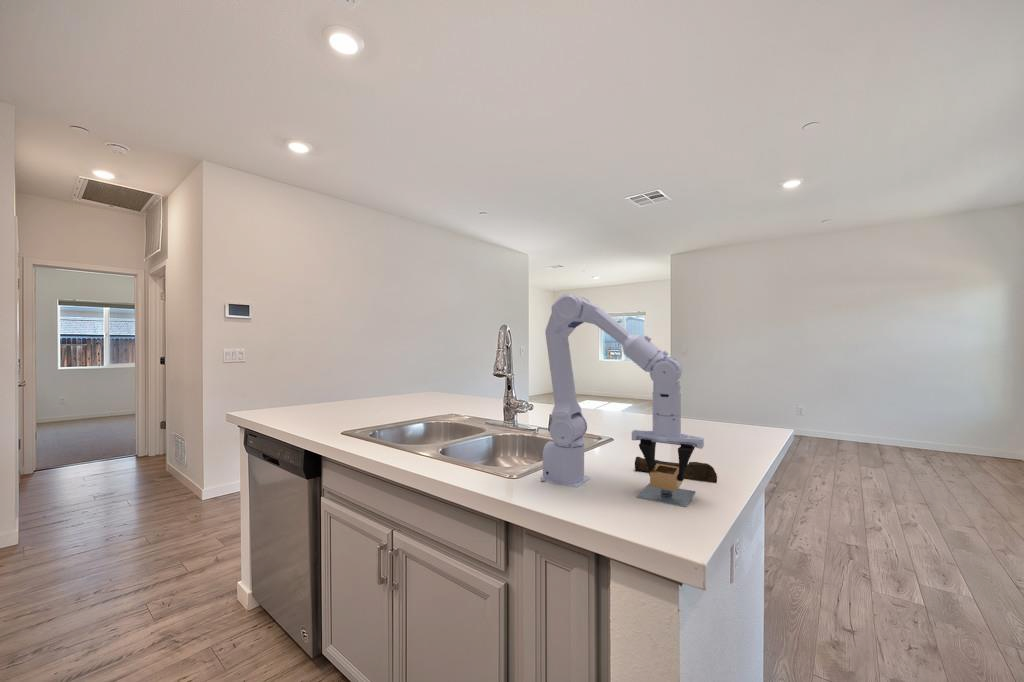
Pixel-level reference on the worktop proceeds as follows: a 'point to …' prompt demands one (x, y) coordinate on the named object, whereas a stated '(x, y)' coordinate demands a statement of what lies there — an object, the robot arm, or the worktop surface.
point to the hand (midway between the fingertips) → (666, 477)
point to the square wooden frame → (665, 477)
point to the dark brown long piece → (692, 471)
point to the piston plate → (667, 496)
